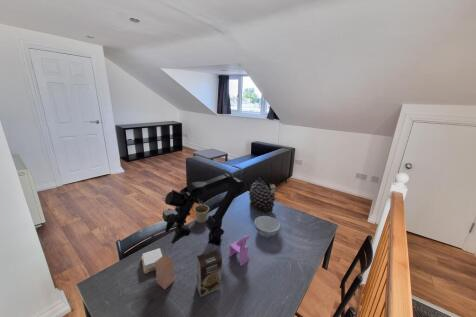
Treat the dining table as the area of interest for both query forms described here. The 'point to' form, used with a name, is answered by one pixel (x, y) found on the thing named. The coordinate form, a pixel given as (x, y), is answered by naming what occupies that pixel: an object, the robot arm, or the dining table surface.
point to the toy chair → (240, 249)
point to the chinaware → (267, 226)
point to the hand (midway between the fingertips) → (169, 237)
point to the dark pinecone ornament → (262, 196)
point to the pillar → (164, 271)
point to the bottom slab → (147, 269)
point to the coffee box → (209, 272)
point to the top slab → (151, 258)
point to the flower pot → (201, 213)
